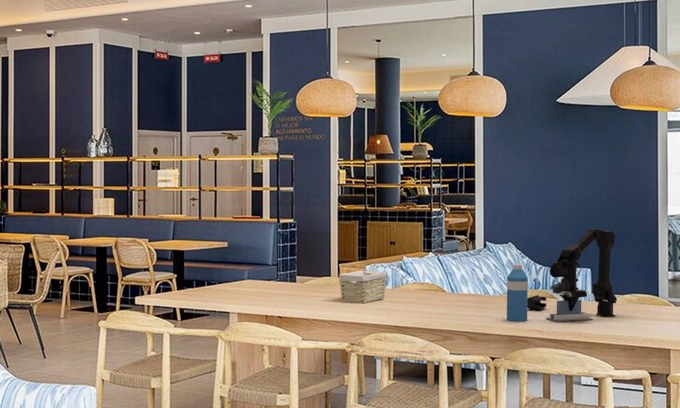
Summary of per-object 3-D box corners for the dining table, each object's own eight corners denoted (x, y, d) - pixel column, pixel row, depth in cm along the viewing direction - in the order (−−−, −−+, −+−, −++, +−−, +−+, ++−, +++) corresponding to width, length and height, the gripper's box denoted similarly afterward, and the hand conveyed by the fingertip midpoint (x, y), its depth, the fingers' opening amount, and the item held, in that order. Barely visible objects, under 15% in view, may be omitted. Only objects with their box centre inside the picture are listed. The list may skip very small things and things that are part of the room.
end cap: (532, 308, 465) (532, 294, 465) (546, 309, 461) (546, 295, 461) (525, 310, 457) (525, 296, 457) (539, 311, 453) (539, 297, 453)
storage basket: (364, 304, 478) (364, 275, 477) (337, 302, 486) (337, 273, 486) (387, 299, 498) (387, 271, 498) (360, 297, 506) (361, 269, 506)
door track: (579, 317, 434) (579, 311, 434) (592, 320, 424) (592, 314, 424) (546, 319, 427) (546, 313, 427) (558, 322, 418) (558, 316, 418)
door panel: (579, 317, 429) (579, 299, 428) (581, 317, 427) (581, 300, 427) (556, 318, 424) (556, 300, 424) (558, 319, 423) (558, 301, 423)
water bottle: (524, 318, 429) (525, 264, 428) (529, 321, 420) (530, 265, 419) (504, 318, 429) (505, 264, 428) (508, 321, 419) (509, 265, 419)
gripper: (543, 275, 431) (542, 308, 432) (566, 279, 414) (566, 314, 414) (563, 274, 435) (563, 307, 436) (587, 278, 418) (587, 313, 418)
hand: (569, 310), depth 426 cm, fingers closed on door panel, 2 cm apart
